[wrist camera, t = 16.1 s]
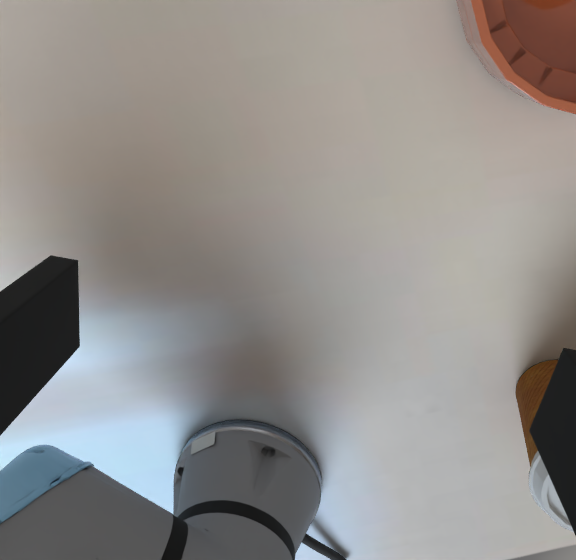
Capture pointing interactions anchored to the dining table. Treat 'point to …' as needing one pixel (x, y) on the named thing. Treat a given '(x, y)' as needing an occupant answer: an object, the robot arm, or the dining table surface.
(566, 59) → the bowl
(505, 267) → the dining table surface
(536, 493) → the disposable coffee cup
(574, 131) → the dining table surface
